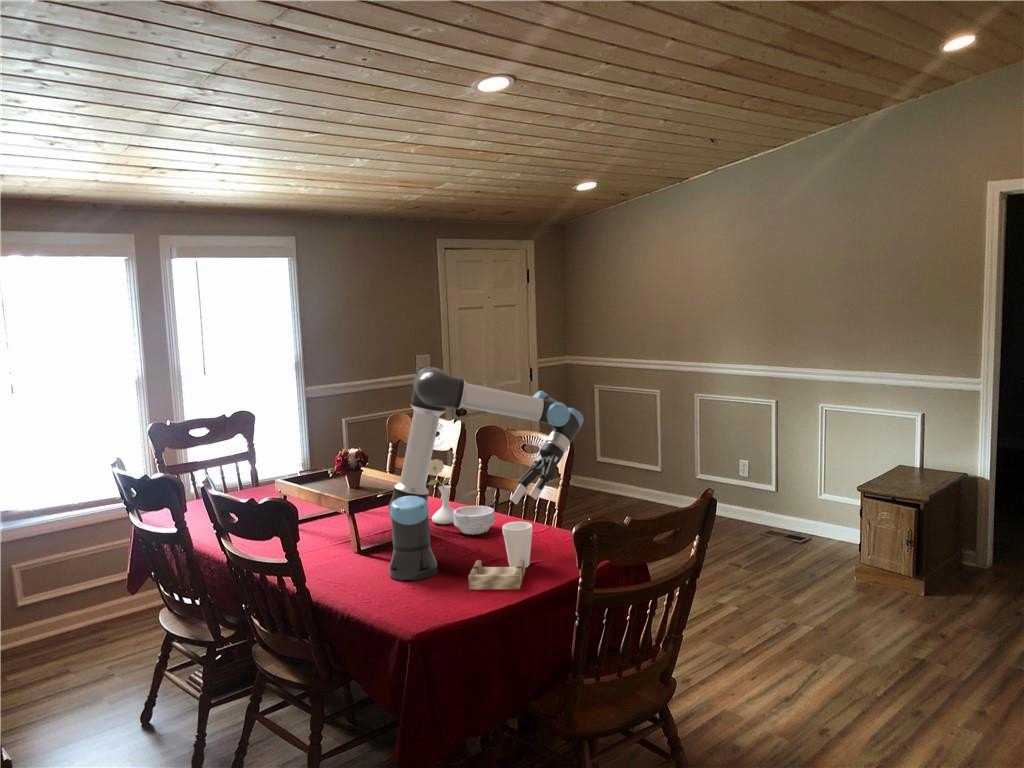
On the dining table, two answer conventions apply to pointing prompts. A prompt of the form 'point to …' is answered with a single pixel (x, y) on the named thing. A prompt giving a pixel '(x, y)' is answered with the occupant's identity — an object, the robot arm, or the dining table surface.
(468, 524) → the paper bowls
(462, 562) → the dining table surface
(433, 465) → the flower in vase
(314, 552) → the dining table surface
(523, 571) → the cradle
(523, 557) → the foam cup
